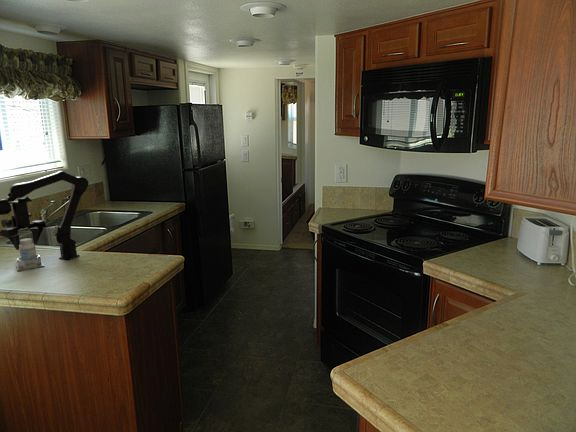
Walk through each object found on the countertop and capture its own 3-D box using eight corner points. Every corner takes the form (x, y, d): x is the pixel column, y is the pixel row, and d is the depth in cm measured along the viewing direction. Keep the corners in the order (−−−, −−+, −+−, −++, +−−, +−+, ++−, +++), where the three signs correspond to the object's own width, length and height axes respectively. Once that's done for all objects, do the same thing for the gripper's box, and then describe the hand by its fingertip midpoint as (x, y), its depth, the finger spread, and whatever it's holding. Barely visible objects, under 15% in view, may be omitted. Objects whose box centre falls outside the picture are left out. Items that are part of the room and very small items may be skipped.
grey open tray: (43, 266, 188) (42, 259, 188) (17, 271, 183) (16, 263, 182) (41, 259, 200) (39, 251, 199) (15, 263, 194) (14, 255, 193)
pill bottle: (19, 264, 190) (14, 240, 187) (32, 260, 195) (28, 237, 193) (27, 266, 187) (23, 242, 185) (40, 262, 193) (36, 238, 190)
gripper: (25, 207, 197) (31, 240, 201) (-13, 216, 180) (-7, 251, 183) (44, 208, 194) (49, 241, 197) (7, 217, 177) (13, 253, 180)
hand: (26, 246), depth 190 cm, fingers open, 9 cm apart
